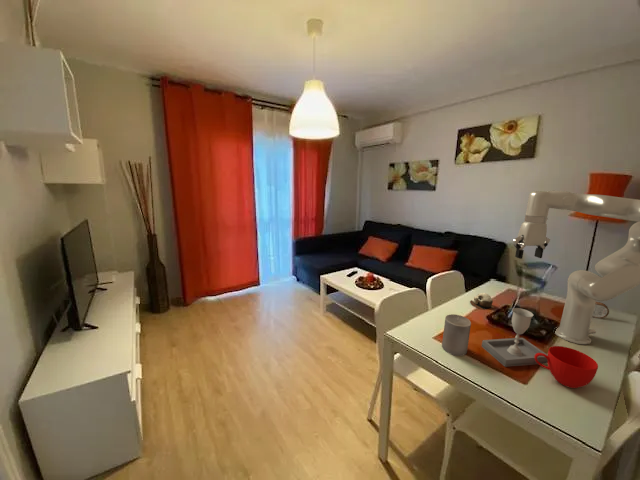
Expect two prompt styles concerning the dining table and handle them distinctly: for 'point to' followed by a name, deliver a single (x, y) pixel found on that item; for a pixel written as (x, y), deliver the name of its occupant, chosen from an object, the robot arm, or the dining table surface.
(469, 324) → the pillar candle
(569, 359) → the ceramic cup
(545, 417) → the dining table surface
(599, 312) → the tin
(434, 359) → the dining table surface
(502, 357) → the tray
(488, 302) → the skull
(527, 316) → the chalice
